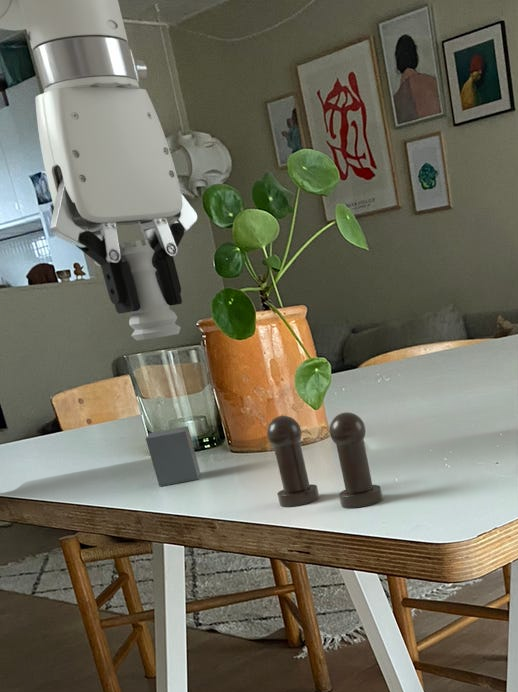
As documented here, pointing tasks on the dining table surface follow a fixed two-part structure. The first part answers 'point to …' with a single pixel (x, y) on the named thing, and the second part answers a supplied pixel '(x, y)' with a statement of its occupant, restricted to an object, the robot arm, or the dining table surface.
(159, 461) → the grey block
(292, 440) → the pawn
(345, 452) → the pawn
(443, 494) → the dining table surface
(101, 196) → the robot arm
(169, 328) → the rook chess piece
